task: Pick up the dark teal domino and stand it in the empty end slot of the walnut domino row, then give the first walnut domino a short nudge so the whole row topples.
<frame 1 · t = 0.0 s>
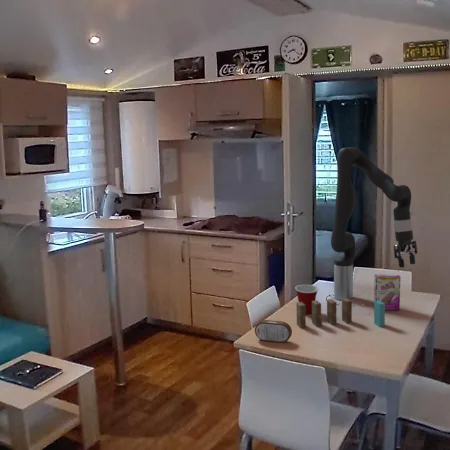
hand: (407, 265, 253), 22 cm above the table, tool pointing down, fingers open, 8 cm apart
tin: (273, 341, 228), on the table
candy bar box: (386, 309, 263), on the table
walnut domino 3: (331, 322, 247), on the table
walnut domino 4: (346, 321, 248), on the table
teal domino: (379, 324, 243), on the table
walnut domino 1: (301, 325, 245), on the table
plastic cup: (307, 312, 263), on the table
walnut domino 2: (316, 324, 246), on the table
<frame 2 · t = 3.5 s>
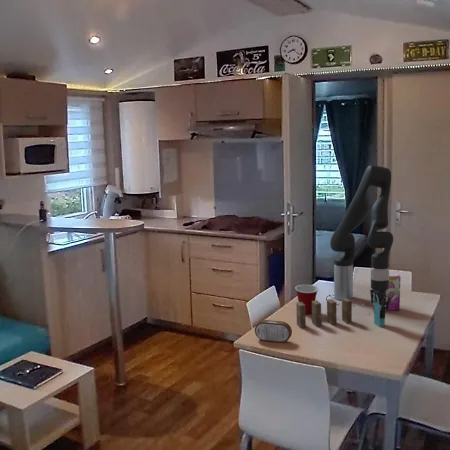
hand: (379, 316, 242), 4 cm above the table, tool pointing down, fingers closed on teal domino, 5 cm apart
teal domino: (379, 324, 243), on the table, touching gripper
everything else where it was.
when the fingers open (5 cm above the table, at t = 9.6 s): teal domino stays where it is, on the table.
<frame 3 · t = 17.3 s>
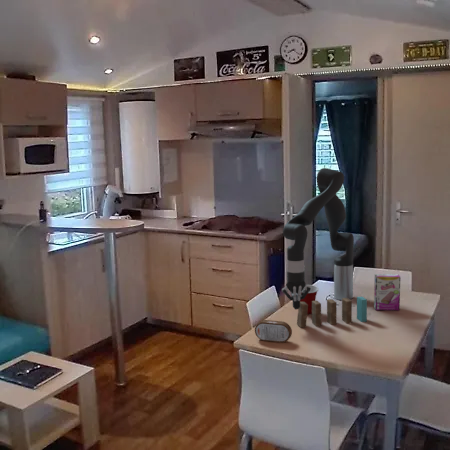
hand: (296, 308, 243), 8 cm above the table, tool pointing down, fingers closed
teal domino: (361, 320, 250), on the table
walnut domino 1: (301, 325, 245), on the table, tilted 7°, touching gripper
everything else where it was.
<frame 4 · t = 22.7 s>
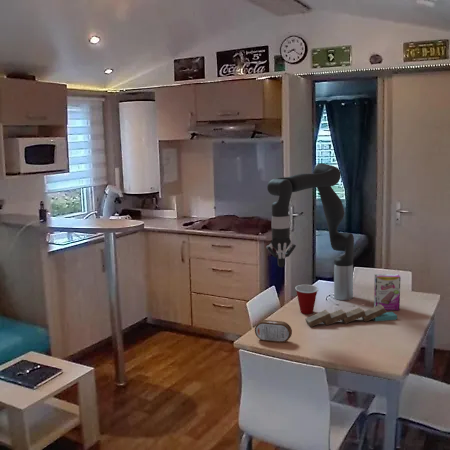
hand: (281, 266, 239), 27 cm above the table, tool pointing down, fingers closed
walnut domino 3: (342, 319, 248), point 1 cm above the table, tilted 74°, touching walnut domino 4
walnut domino 4: (362, 317, 249), point 1 cm above the table, tilted 67°, touching teal domino, walnut domino 3
teal domino: (373, 317, 250), point 1 cm above the table, tilted 90°, touching walnut domino 4
walnut domino 1: (307, 323, 245), point 1 cm above the table, tilted 71°, touching walnut domino 2
walnut domino 2: (323, 321, 246), point 1 cm above the table, tilted 74°, touching walnut domino 1
everything else where it was.
at the end: teal domino tilted 90°; walnut domino 1 tilted 71°; the gripper is holding nothing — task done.
